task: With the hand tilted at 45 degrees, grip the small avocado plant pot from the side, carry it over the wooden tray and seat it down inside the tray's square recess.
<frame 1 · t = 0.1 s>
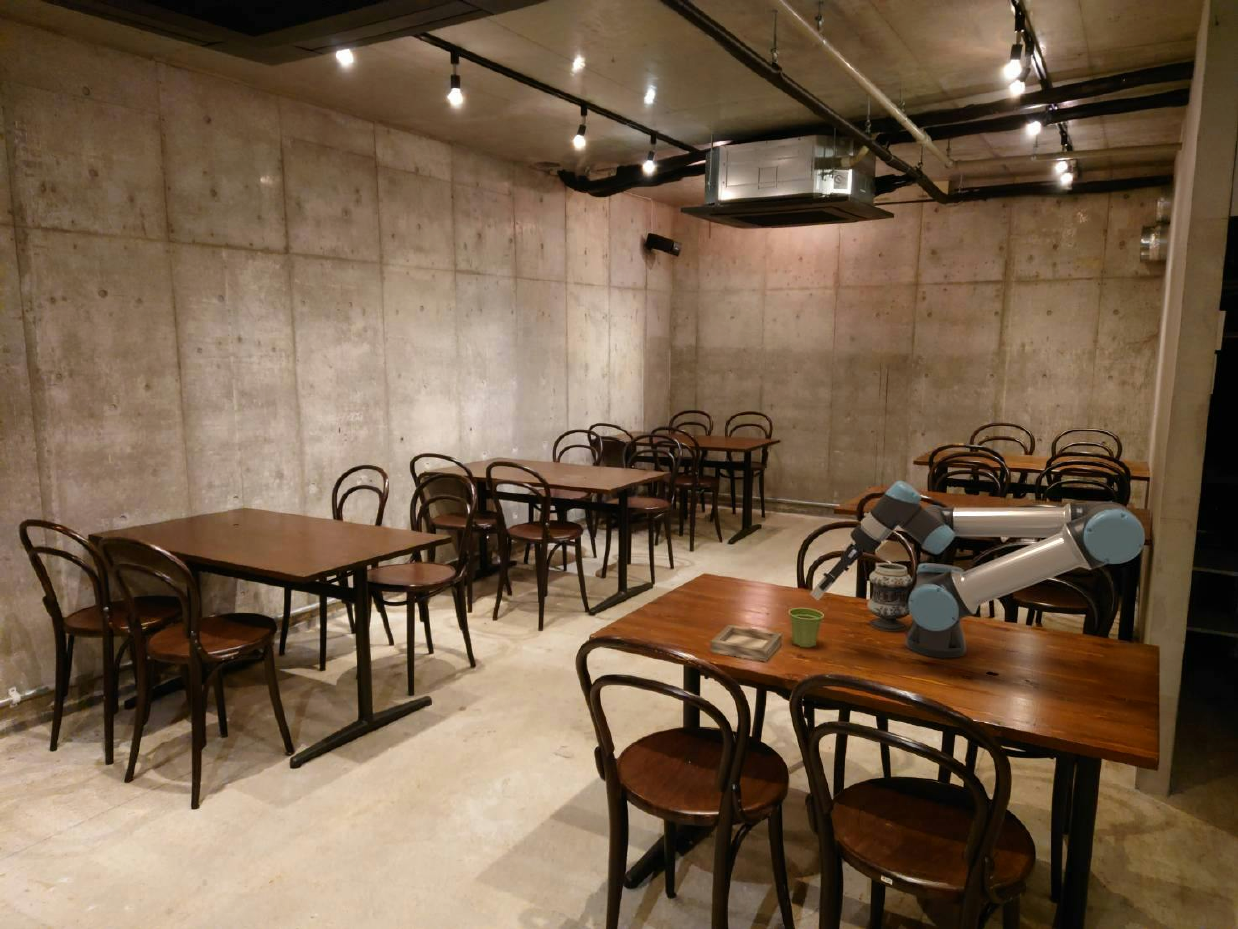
hand: (819, 590, 210), 15 cm above the table, tool tilted 35°, fingers open, 13 cm apart
plant pot: (804, 644, 213), on the table
apothecary jar: (887, 626, 229), on the table
wooden tray: (746, 648, 208), on the table
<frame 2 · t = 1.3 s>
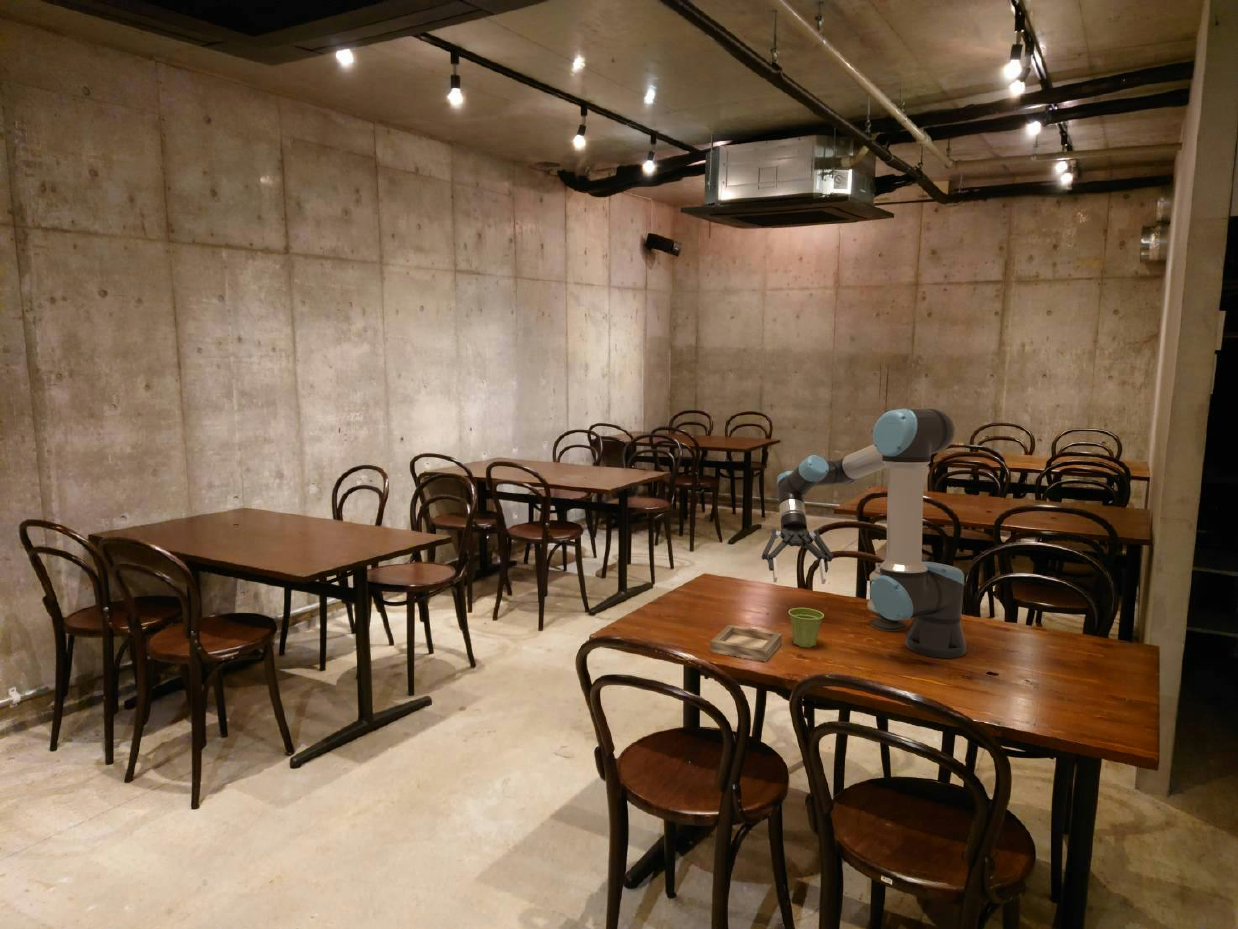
hand: (799, 581, 221), 15 cm above the table, tool tilted 45°, fingers open, 13 cm apart
nothing on the table moved.
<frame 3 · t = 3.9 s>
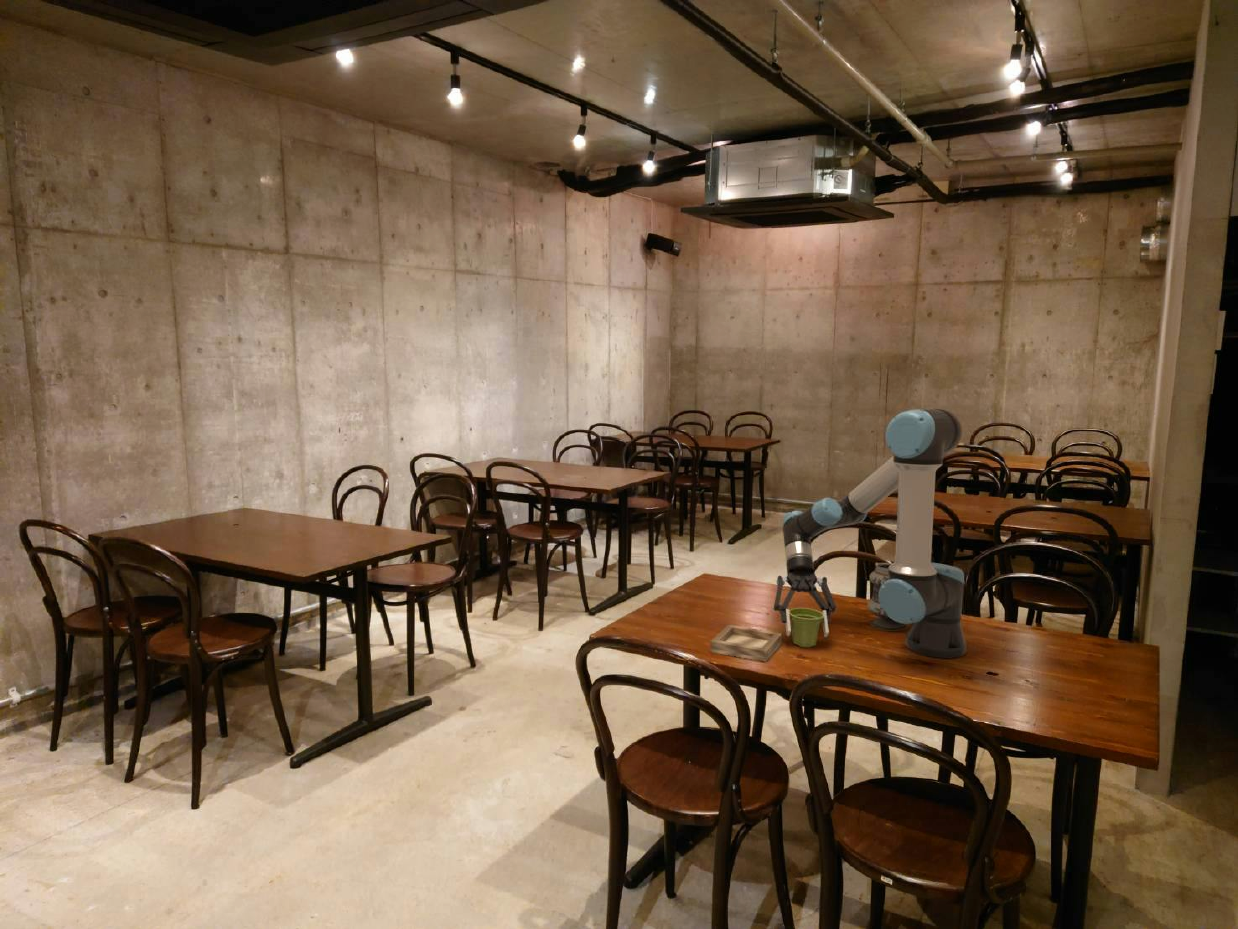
hand: (807, 634, 209), 4 cm above the table, tool tilted 45°, fingers closed on plant pot, 9 cm apart
plant pot: (804, 644, 213), on the table, touching gripper
everything else where it was.
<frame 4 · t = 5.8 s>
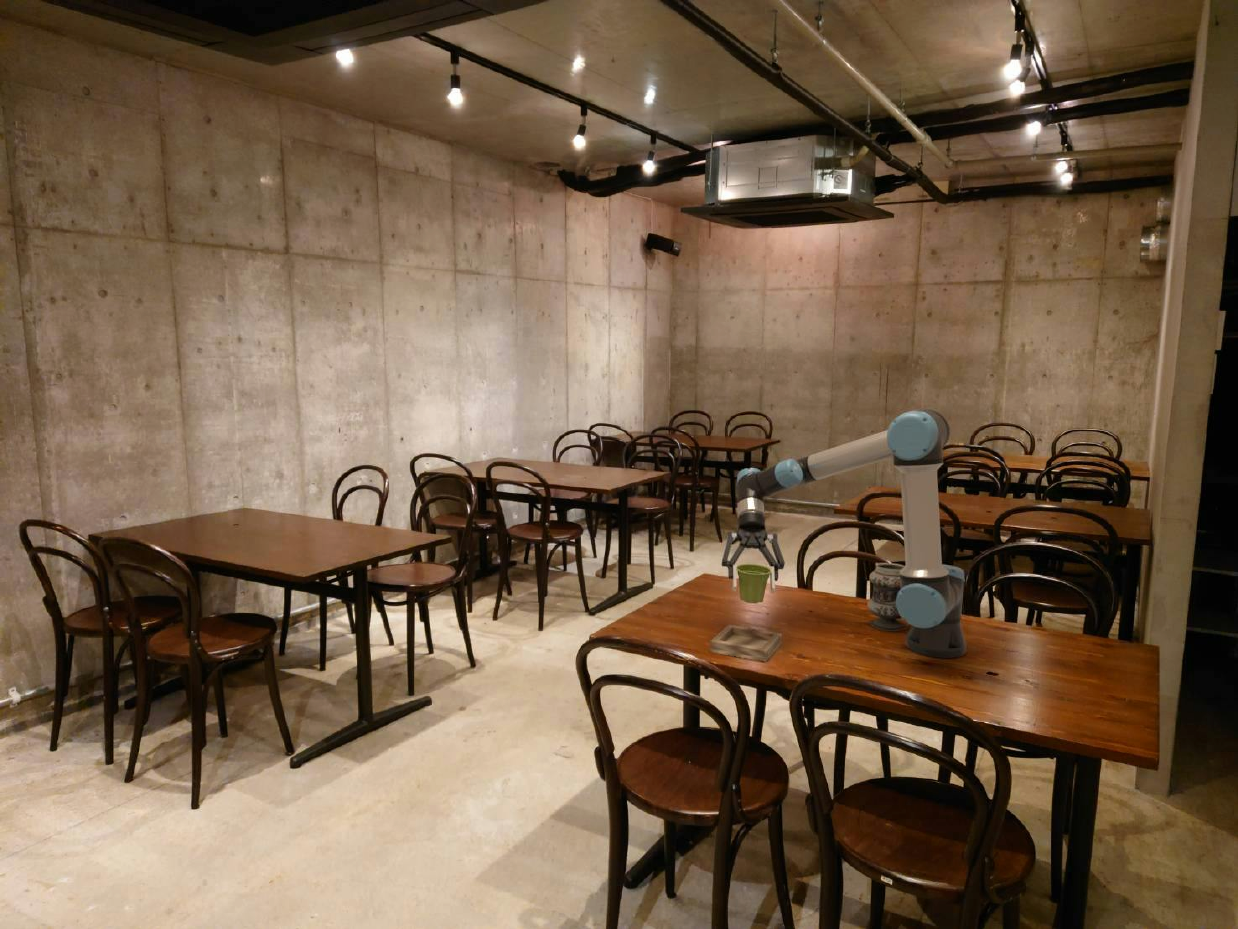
hand: (753, 589, 205), 17 cm above the table, tool tilted 45°, fingers closed on plant pot, 9 cm apart
plant pot: (751, 601, 209), point 12 cm above the table, touching gripper
everything else where it was.
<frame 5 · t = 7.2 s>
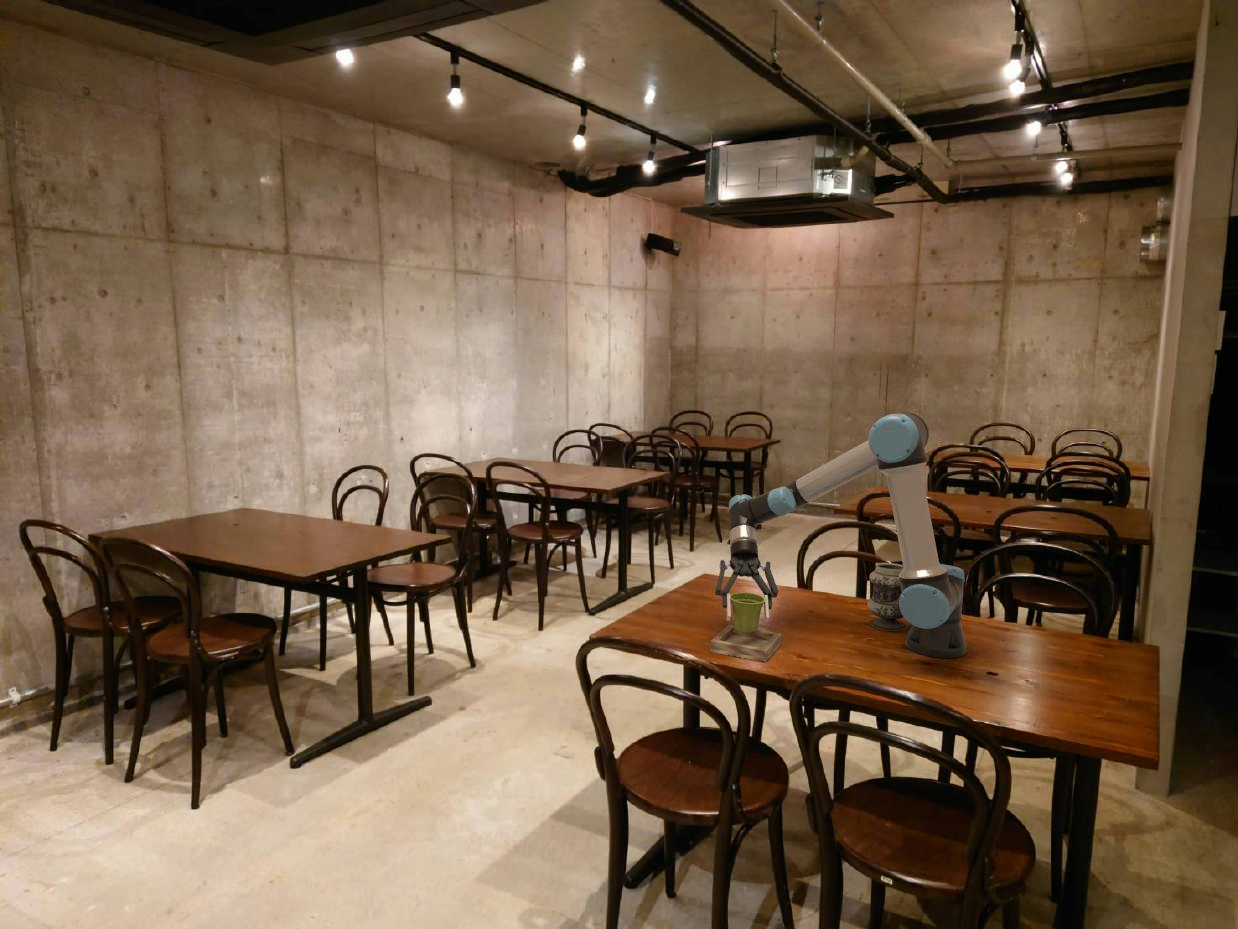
hand: (748, 619, 204), 9 cm above the table, tool tilted 45°, fingers closed on plant pot, 9 cm apart
plant pot: (745, 629, 208), point 5 cm above the table, touching gripper
everything else where it was.
when the fingers open (6 cm above the table, at t = 8.2 s): plant pot drops 1 cm, resting on wooden tray.
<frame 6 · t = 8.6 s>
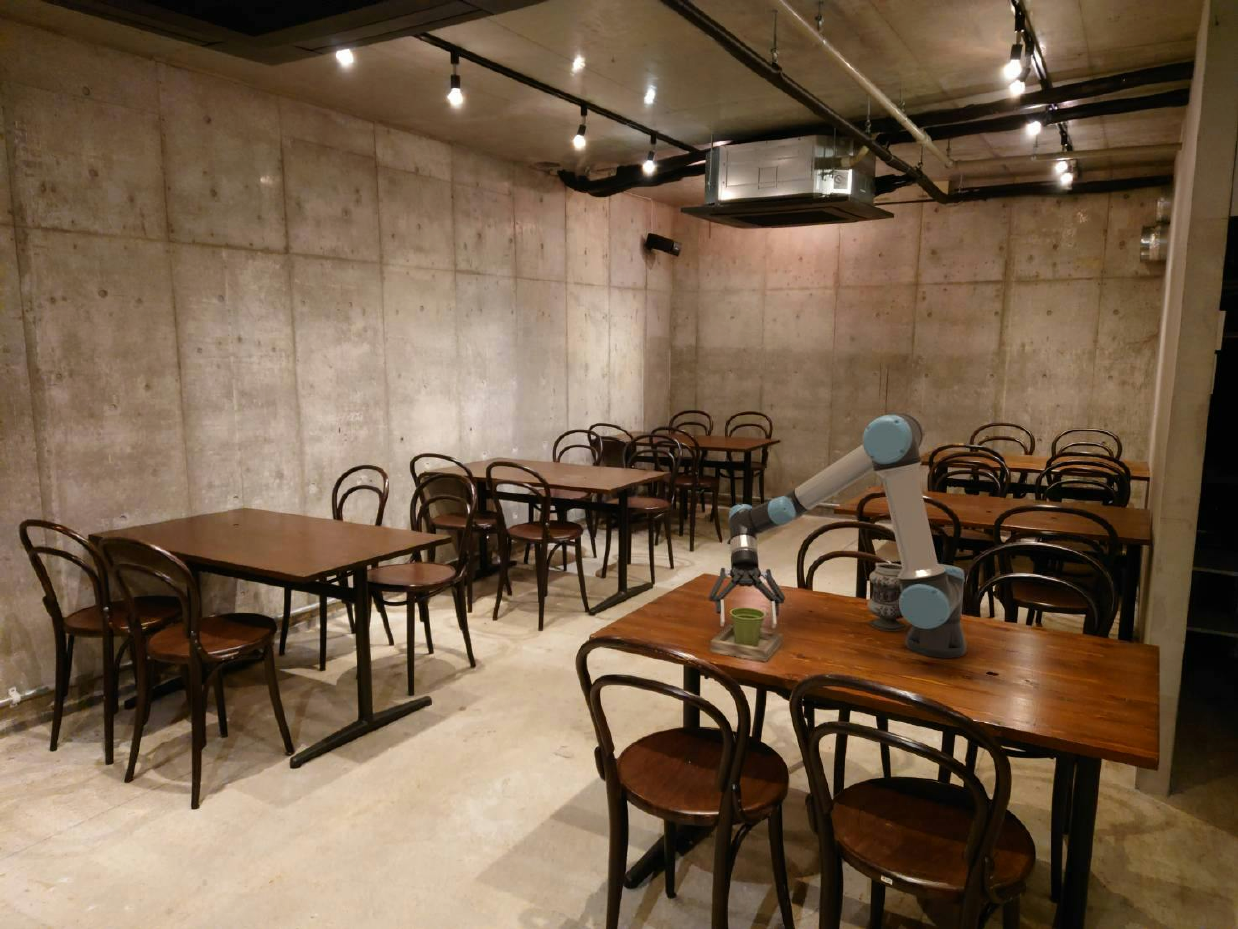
hand: (748, 625, 205), 7 cm above the table, tool tilted 45°, fingers open, 13 cm apart
plant pot: (746, 644, 209), point 1 cm above the table, touching wooden tray
everything else where it was.
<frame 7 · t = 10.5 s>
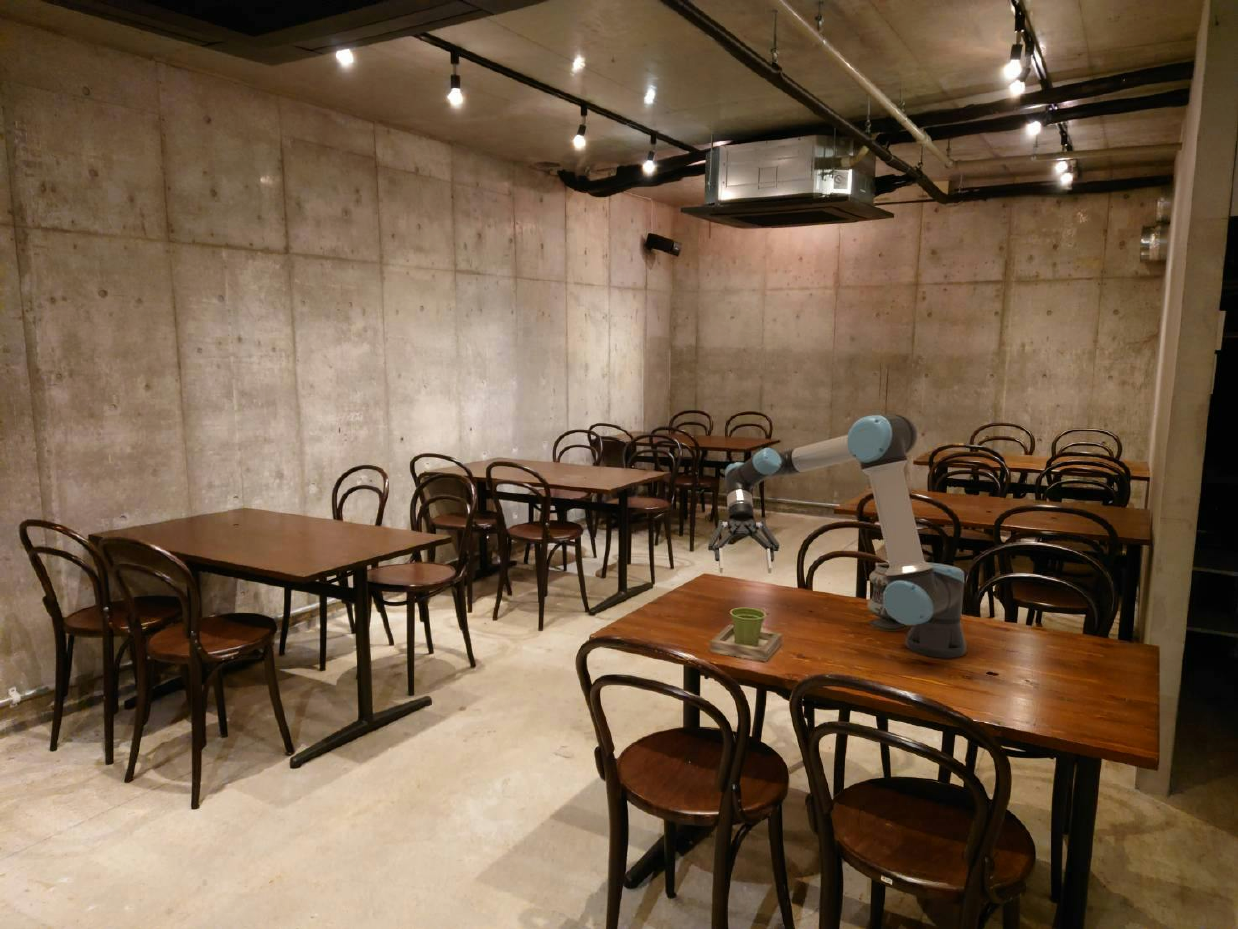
hand: (745, 570, 220), 18 cm above the table, tool tilted 45°, fingers open, 13 cm apart
nothing on the table moved.
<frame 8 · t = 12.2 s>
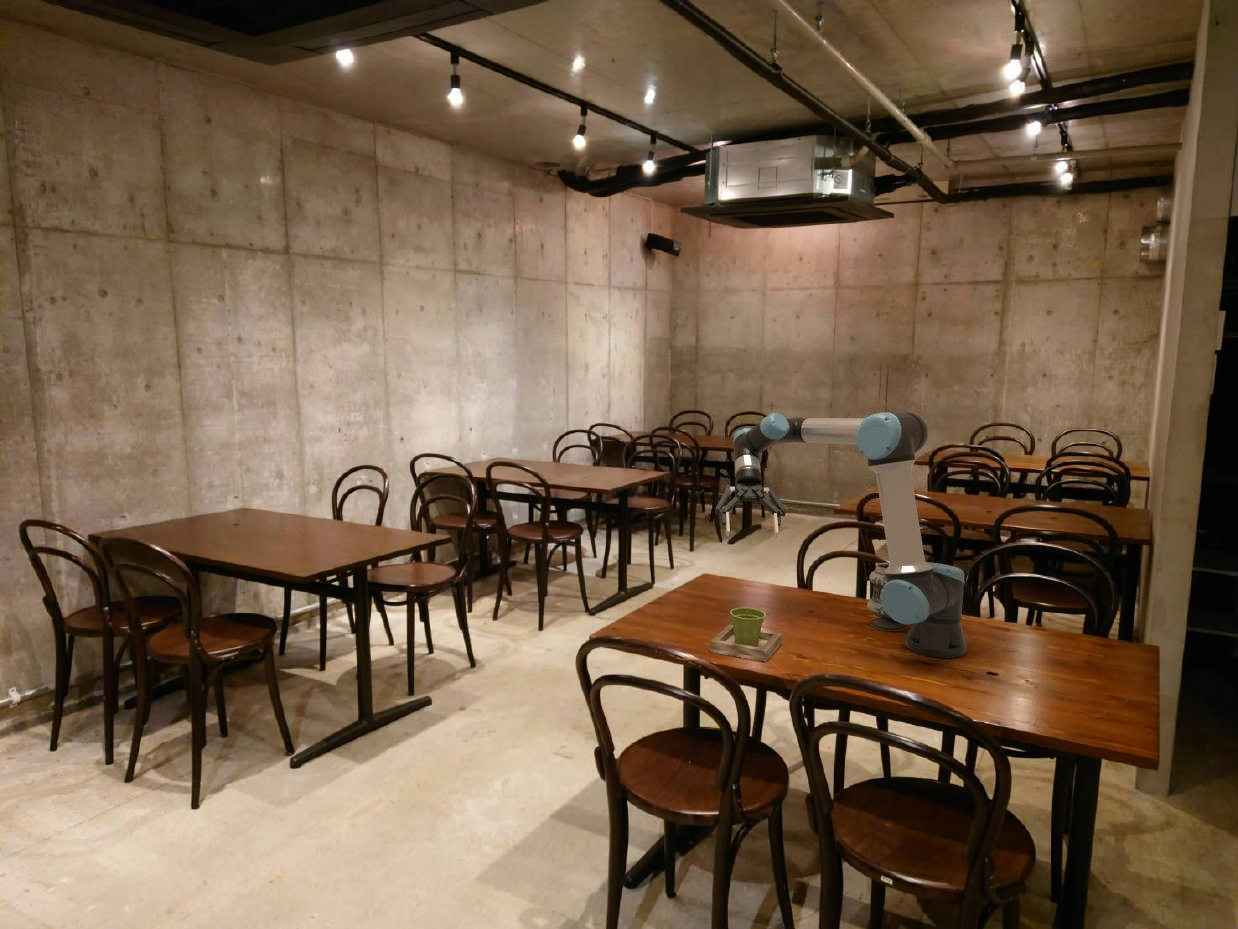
hand: (752, 534, 220), 28 cm above the table, tool tilted 45°, fingers open, 13 cm apart
nothing on the table moved.
at the end: plant pot 0.2 cm off-centre on the wooden tray, point 0.8 cm above the wooden tray's base; plant pot tilted 0°; the gripper is holding nothing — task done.
